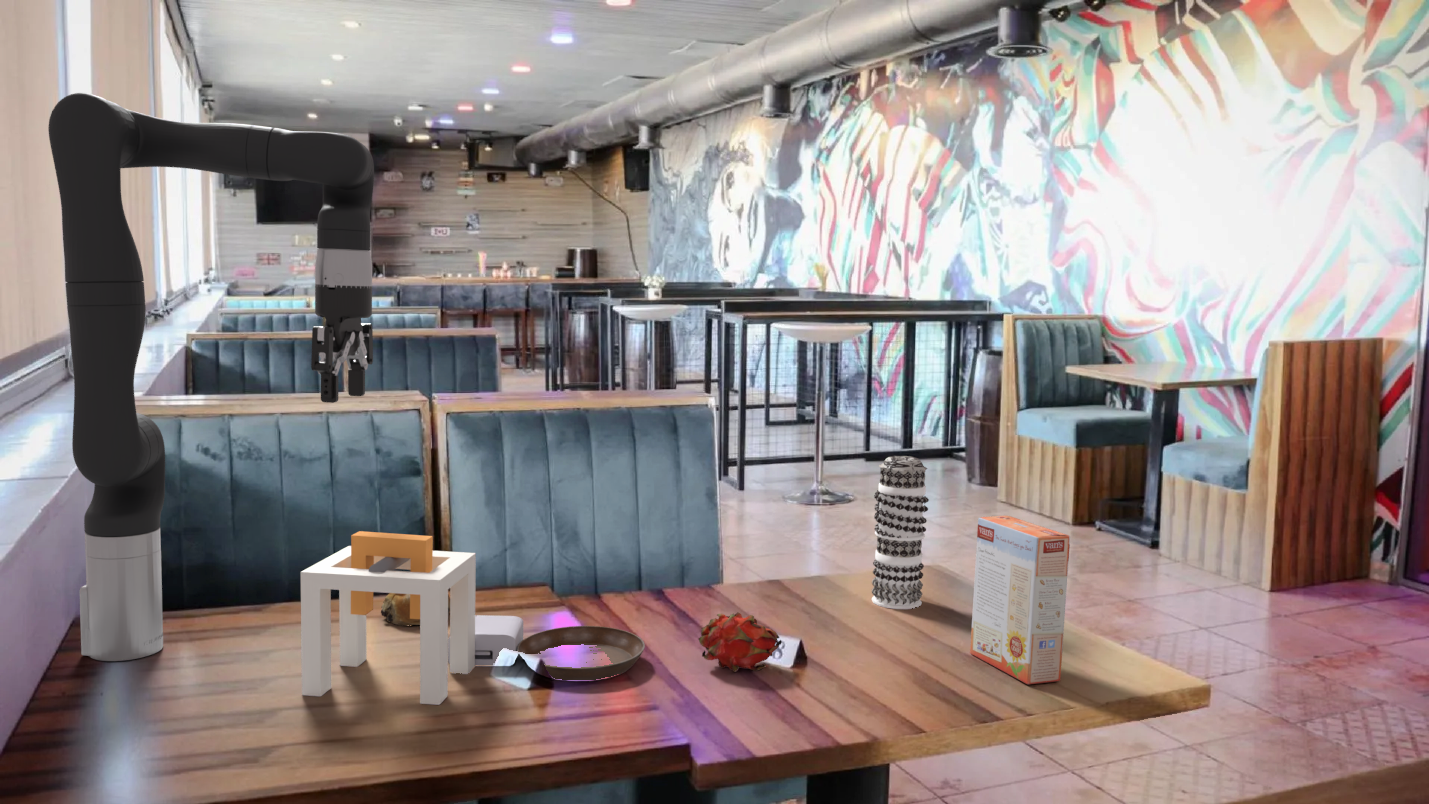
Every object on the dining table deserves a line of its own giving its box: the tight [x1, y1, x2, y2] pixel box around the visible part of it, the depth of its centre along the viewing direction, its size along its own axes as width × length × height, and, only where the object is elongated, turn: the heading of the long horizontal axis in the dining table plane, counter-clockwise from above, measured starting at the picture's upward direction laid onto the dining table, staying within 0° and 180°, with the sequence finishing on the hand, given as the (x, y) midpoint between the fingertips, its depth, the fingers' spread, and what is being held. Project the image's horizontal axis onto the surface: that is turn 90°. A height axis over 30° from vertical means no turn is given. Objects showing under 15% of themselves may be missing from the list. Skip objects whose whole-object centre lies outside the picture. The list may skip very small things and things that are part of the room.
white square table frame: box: [300, 545, 477, 706], centre depth 146 cm, size 18×14×17 cm
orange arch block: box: [350, 530, 434, 619], centre depth 145 cm, size 10×2×10 cm, turn 84°
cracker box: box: [969, 515, 1071, 685], centre depth 158 cm, size 14×6×21 cm, turn 21°
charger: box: [448, 614, 524, 665], centre depth 161 cm, size 5×9×15 cm
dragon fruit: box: [698, 612, 782, 673], centre depth 156 cm, size 8×8×12 cm
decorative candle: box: [871, 455, 930, 610], centre depth 189 cm, size 9×9×25 cm
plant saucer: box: [517, 625, 646, 680], centre depth 155 cm, size 18×18×3 cm
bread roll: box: [380, 593, 450, 627], centre depth 174 cm, size 10×10×8 cm
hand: (343, 399), depth 156 cm, fingers open, 8 cm apart
